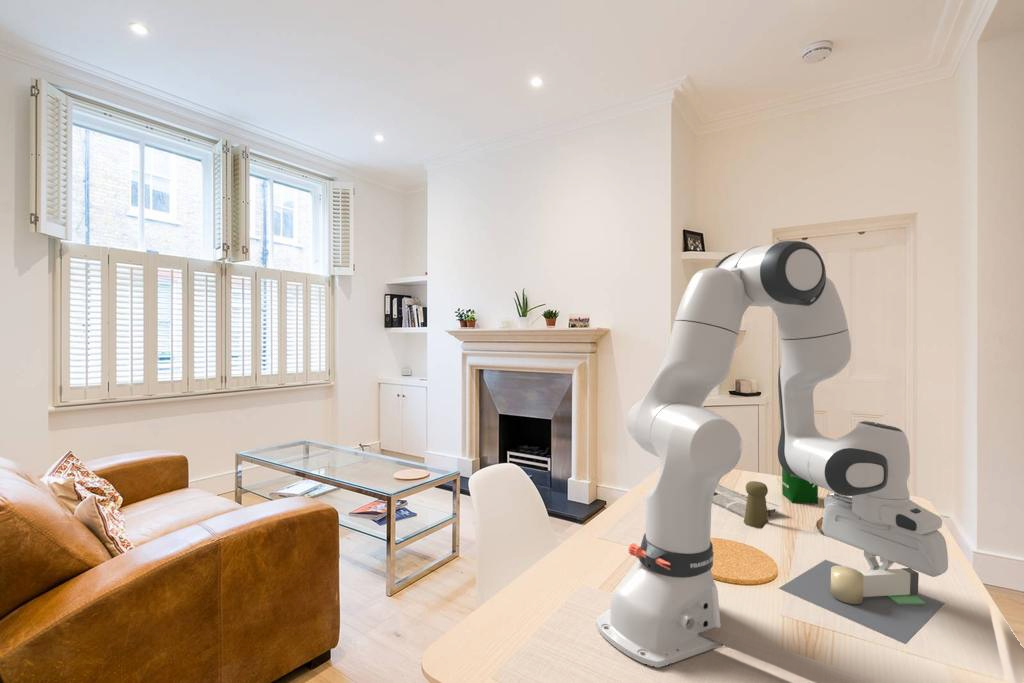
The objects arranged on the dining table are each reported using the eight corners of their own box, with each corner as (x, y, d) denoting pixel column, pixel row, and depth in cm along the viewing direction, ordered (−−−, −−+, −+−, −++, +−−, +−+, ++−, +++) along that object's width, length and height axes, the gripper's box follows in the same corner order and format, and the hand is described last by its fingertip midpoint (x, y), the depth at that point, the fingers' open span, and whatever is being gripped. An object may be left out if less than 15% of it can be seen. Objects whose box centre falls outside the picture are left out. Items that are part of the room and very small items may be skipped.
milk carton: (822, 505, 141) (824, 437, 140) (789, 503, 142) (790, 436, 142) (808, 494, 150) (809, 430, 149) (777, 493, 151) (778, 429, 150)
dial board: (905, 652, 78) (905, 641, 78) (778, 595, 94) (778, 586, 94) (945, 610, 89) (945, 600, 89) (825, 566, 106) (826, 557, 106)
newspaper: (666, 482, 163) (666, 472, 163) (696, 478, 167) (696, 468, 167) (750, 523, 130) (751, 510, 130) (785, 516, 134) (785, 504, 134)
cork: (772, 529, 125) (772, 486, 125) (747, 527, 126) (747, 485, 126) (765, 519, 131) (765, 479, 130) (741, 518, 132) (741, 478, 132)
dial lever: (844, 604, 88) (844, 579, 88) (824, 589, 93) (824, 566, 93) (925, 600, 89) (926, 575, 89) (901, 585, 94) (902, 562, 94)
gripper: (815, 492, 101) (815, 557, 102) (934, 529, 83) (933, 608, 83) (834, 487, 104) (833, 550, 105) (953, 522, 86) (952, 598, 86)
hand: (878, 576), depth 94 cm, fingers closed
